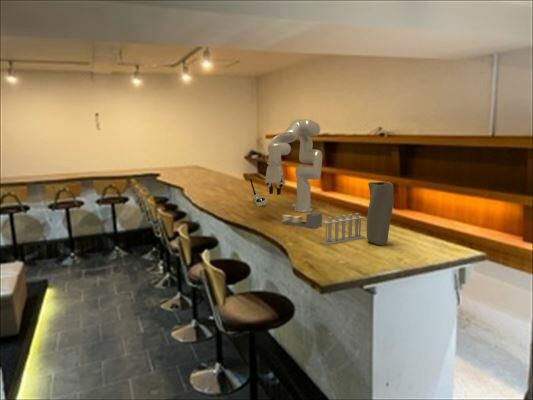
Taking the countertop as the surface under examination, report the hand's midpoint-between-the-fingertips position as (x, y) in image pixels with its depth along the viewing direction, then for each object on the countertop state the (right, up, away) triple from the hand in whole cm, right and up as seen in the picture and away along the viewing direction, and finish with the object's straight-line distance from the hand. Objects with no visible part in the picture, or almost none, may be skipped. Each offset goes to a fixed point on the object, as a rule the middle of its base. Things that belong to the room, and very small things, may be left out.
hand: (274, 193), depth 250 cm
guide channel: (+13, -18, -5) cm, 23 cm away
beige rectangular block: (+10, -18, -3) cm, 21 cm away
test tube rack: (+34, -25, -40) cm, 58 cm away
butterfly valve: (-10, -8, +60) cm, 62 cm away
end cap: (+22, -19, -11) cm, 31 cm away
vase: (+50, -25, -46) cm, 73 cm away
